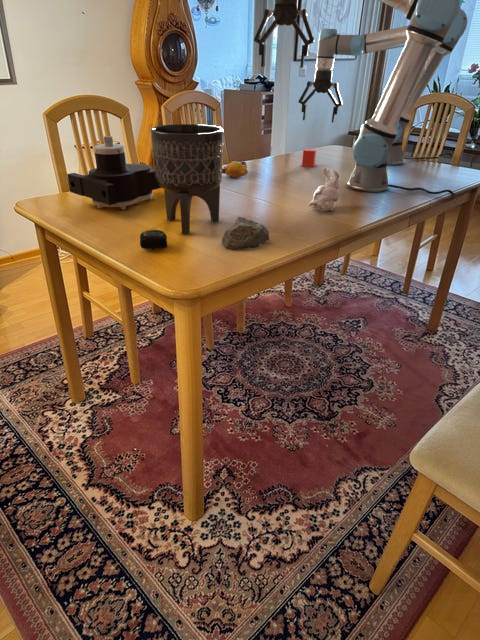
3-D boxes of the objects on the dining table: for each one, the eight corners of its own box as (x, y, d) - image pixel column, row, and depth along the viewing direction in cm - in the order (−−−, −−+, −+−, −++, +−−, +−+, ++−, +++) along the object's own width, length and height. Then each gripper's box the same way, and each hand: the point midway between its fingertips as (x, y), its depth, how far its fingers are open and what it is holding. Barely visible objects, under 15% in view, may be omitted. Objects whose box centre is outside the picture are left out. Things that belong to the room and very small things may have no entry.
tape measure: (140, 252, 115) (139, 238, 113) (141, 242, 120) (140, 229, 119) (167, 251, 116) (166, 237, 114) (167, 241, 121) (166, 228, 120)
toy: (216, 169, 183) (223, 161, 196) (222, 185, 186) (228, 175, 199) (242, 161, 180) (247, 153, 193) (247, 176, 183) (252, 167, 196)
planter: (143, 226, 132) (134, 128, 119) (187, 210, 146) (183, 122, 133) (195, 240, 123) (191, 136, 109) (236, 222, 137) (238, 128, 123)
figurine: (343, 205, 155) (348, 167, 148) (324, 216, 144) (329, 175, 137) (322, 201, 158) (326, 164, 152) (302, 211, 148) (305, 171, 141)
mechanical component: (60, 135, 140) (138, 127, 160) (72, 203, 151) (143, 187, 171) (101, 144, 128) (180, 134, 148) (111, 217, 139) (183, 198, 159)
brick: (303, 164, 215) (305, 148, 211) (314, 164, 214) (316, 149, 210) (301, 166, 210) (303, 150, 207) (313, 167, 209) (314, 151, 205)
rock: (255, 233, 128) (256, 211, 124) (276, 242, 122) (278, 219, 119) (217, 244, 120) (217, 220, 117) (239, 254, 115) (239, 230, 111)
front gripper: (246, -10, 144) (244, 66, 155) (324, -11, 139) (317, 68, 150) (251, -8, 151) (249, 65, 161) (327, -8, 145) (320, 67, 156)
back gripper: (295, 68, 202) (290, 119, 213) (351, 71, 196) (344, 124, 207) (298, 68, 209) (294, 118, 219) (353, 70, 203) (345, 122, 213)
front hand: (282, 67), depth 156 cm, fingers open, 13 cm apart
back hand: (318, 121), depth 213 cm, fingers open, 13 cm apart
